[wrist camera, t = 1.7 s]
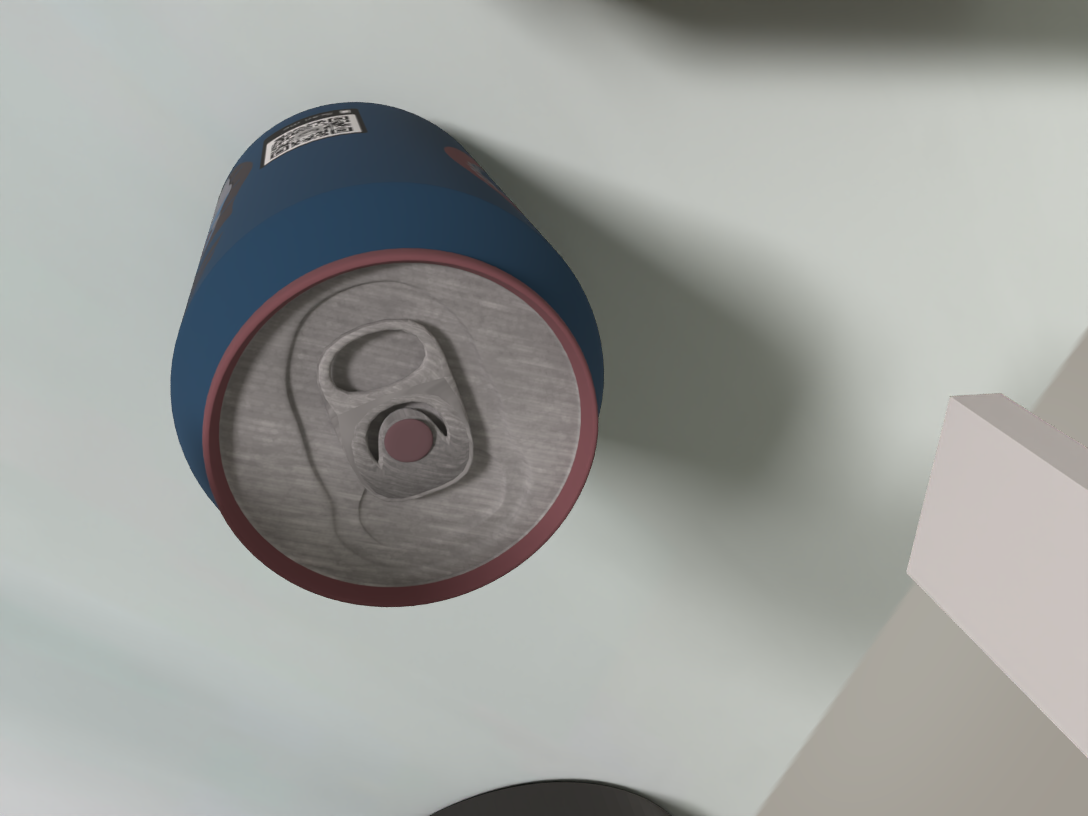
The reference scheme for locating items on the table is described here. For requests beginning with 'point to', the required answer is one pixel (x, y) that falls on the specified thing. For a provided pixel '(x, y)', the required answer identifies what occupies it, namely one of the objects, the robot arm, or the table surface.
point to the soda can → (383, 363)
